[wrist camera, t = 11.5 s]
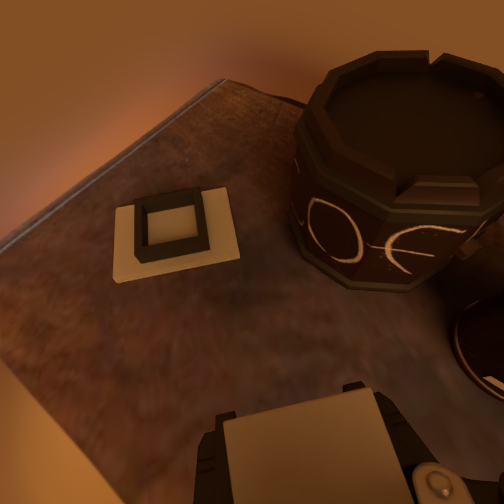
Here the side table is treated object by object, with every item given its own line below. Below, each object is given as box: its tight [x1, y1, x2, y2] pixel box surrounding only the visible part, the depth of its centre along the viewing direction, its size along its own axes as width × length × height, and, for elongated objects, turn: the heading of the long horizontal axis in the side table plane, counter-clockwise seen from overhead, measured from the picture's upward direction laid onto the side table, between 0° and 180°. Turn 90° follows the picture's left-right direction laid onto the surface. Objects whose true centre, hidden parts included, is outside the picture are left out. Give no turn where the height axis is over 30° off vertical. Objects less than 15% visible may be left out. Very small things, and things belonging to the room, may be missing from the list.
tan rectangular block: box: [223, 387, 415, 504], centre depth 11 cm, size 4×4×8 cm
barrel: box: [287, 50, 504, 293], centre depth 28 cm, size 18×18×16 cm
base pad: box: [113, 187, 240, 283], centre depth 35 cm, size 14×10×3 cm
